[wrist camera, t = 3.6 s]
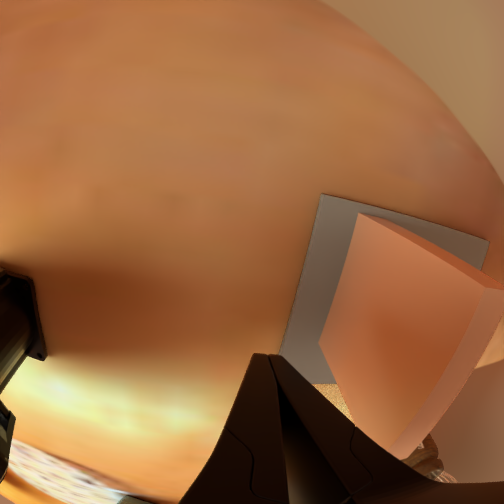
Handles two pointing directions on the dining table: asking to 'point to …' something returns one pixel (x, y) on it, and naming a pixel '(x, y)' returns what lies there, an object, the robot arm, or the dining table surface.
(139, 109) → the dining table surface
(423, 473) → the utensil holder
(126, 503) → the flower pot
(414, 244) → the block
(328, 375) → the slate mat
